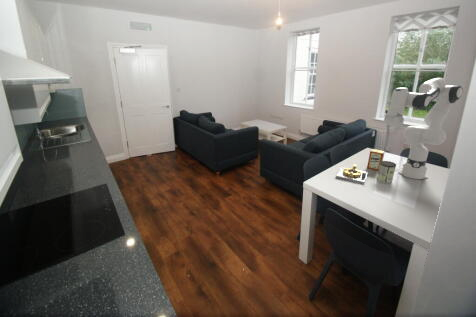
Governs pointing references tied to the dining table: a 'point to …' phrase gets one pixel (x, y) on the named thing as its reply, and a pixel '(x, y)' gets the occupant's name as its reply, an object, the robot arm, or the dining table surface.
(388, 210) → the dining table surface
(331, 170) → the dining table surface
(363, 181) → the base plate
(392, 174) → the coffee can
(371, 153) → the baking soda box
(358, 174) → the ring nut
